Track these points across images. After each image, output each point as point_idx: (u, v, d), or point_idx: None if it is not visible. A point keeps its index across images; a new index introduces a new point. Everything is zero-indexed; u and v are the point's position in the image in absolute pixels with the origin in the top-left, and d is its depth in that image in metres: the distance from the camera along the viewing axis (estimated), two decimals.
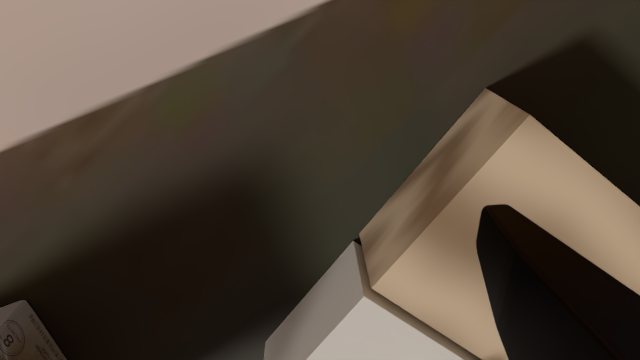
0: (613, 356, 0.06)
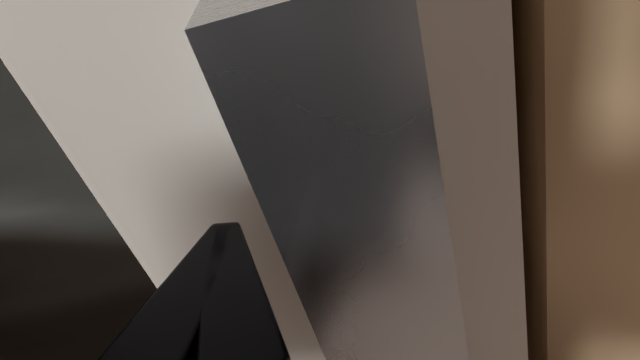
0: None
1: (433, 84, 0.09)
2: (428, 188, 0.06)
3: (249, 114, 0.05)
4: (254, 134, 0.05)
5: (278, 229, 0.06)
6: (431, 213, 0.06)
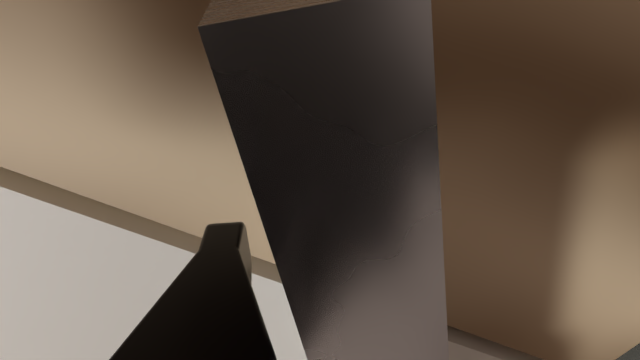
0: None
1: (62, 255, 0.11)
2: (426, 202, 0.06)
3: (254, 115, 0.05)
4: (259, 136, 0.05)
5: (273, 231, 0.06)
6: (426, 227, 0.06)
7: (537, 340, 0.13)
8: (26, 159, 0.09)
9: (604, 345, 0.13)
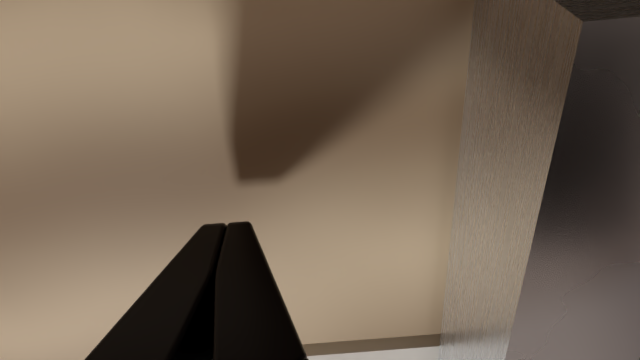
0: None
1: None
2: None
3: (587, 114, 0.05)
4: (580, 135, 0.05)
5: (544, 230, 0.06)
6: None
7: None
8: (42, 354, 0.12)
9: None
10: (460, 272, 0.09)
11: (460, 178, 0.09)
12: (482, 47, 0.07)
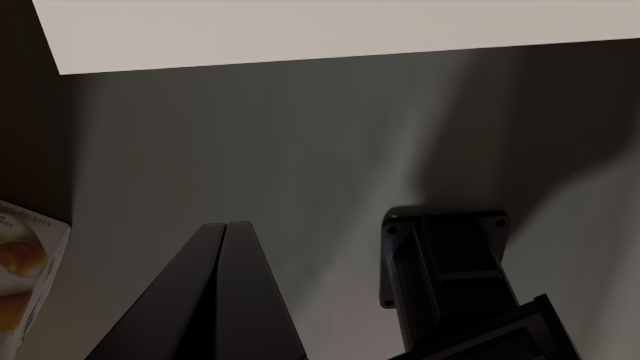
0: None
1: None
2: None
3: None
4: None
5: None
6: None
7: None
8: None
9: None
10: None
11: None
12: None
